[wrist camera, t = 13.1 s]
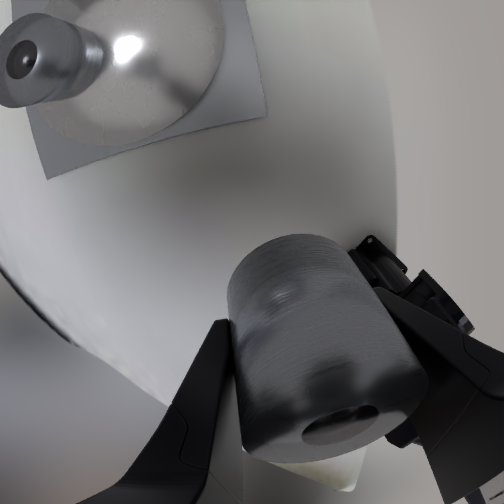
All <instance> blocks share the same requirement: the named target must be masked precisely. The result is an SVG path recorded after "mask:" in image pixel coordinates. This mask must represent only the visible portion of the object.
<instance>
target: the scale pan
mask: <svg viewBox="0 0 504 504" xmlns="http://www.w3.org/2000/svg"><path fill="white" fill-rule="evenodd" d="M42 13H44V14H48V15H51V16H53V17H56V18H59V19H62V20H64V21H67V22H70V23H72V24H75V25H77V26H80V27H82V28H85V29H87V30H90V31H91V32H93V33H94V34H95V35H96V36H97V37H98V39H99V41H100V43H101V46H102V51H103V59H102V64H101V68H100V71H99V73H98V75H97V77H96V79H95V80H94V82H93V83H92V84H91V85H90V86H89V87H88V88H87V89H86V90H85V91H84V92H83V93H81V94H80V95H78V96H76V97H73V98H70V99H65V100H59V101H52V102H46V103H40V104H35V105H34V106H35V108H36V109H37V111H38V113H39V114H40V116H41V117H42V118H43V119H44V120H45V122H46V123H47V124H48V125H49V126H51V127H52V128H53V129H54V130H55V131H57V132H58V133H60V134H61V135H63V136H65V137H67V138H69V139H71V140H73V141H76V142H80V143H83V144H87V145H94V146H116V145H124V144H128V143H132V142H136V141H139V140H141V139H144V138H147V137H149V136H151V135H153V134H155V133H157V132H159V131H161V130H163V129H164V128H166V127H167V126H169V125H170V124H172V123H173V122H175V121H176V120H177V119H179V118H180V117H181V116H182V115H183V114H185V113H186V112H187V111H188V110H189V109H190V108H191V107H192V106H193V105H194V104H195V103H196V102H197V100H198V99H199V98H200V97H201V95H202V94H203V93H204V91H205V90H206V88H207V87H208V85H209V83H210V82H211V80H212V78H213V76H214V74H215V72H216V70H217V67H218V65H219V61H220V58H221V55H222V50H223V44H224V28H225V26H224V18H223V12H222V9H221V6H220V2H219V0H51V1H50V2H49V3H48V5H47V6H46V8H45V9H44V11H43V12H42Z"/></svg>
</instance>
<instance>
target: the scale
mask: <svg viewBox="0 0 504 504" xmlns="http://www.w3.org/2000/svg"><path fill="white" fill-rule="evenodd" d="M50 1H51V0H11V3H12V21H13V22H14V21H16V20H17V19H19V18H21V17H22V16H25V15H27V14H31V13H42V12H43V11H44V9H45V8H46V6H47V5H48V3H49V2H50ZM219 2H220V6H221V9H222V12H223V18H224V26H225V28H224V44H223V50H222V55H221V58H220V61H219V65H218V67H217V70H216V72H215V74H214V76H213V78H212V80H211V82H210V83H209V85H208V87H207V88H206V90H205V91H204V93H203V94H202V95H201V97H200V98H199V99H198V100H197V102H196V103H195V104H194V105H193V106H192V107H191V108H190V109H189V110H188V111H187V112H186V113H185V114H183V115H182V116H181V117H180V118H179V119H177V120H176V121H175V122H173V123H172V124H170V125H169V126H167V127H166V128H164V129H163V130H161V131H159V132H157V133H155V134H153V135H151V136H149V137H147V138H144V139H141V140H139V141H136V142H132V143H128V144H124V145H116V146H94V145H87V144H83V143H80V142H76V141H73V140H71V139H69V138H67V137H65V136H63V135H61V134H60V133H58V132H57V131H55V130H54V129H53V128H52V127H51V126H49V125H48V124H47V123H46V122H45V120H44V119H43V118H42V117H41V116H40V114H39V113H38V111H37V109H36V108H35V106H34V105H29V106H26V110H27V114H28V118H29V122H30V126H31V129H32V133H33V137H34V140H35V144H36V147H37V151H38V154H39V157H40V160H41V163H42V166H43V169H44V172H45V175H46V178H47V180H48V179H51V178H53V177H56V176H58V175H60V174H63V173H65V172H68V171H70V170H73V169H76V168H78V167H81V166H83V165H86V164H89V163H91V162H94V161H97V160H100V159H103V158H105V157H108V156H111V155H114V154H117V153H120V152H123V151H126V150H129V149H133V148H136V147H139V146H142V145H146V144H149V143H152V142H156V141H159V140H163V139H166V138H170V137H174V136H178V135H181V134H185V133H189V132H193V131H197V130H202V129H206V128H210V127H215V126H219V125H224V124H229V123H233V122H238V121H244V120H249V119H254V118H260V117H266V116H268V114H267V109H266V103H265V98H264V93H263V87H262V82H261V77H260V72H259V67H258V62H257V56H256V52H255V47H254V42H253V37H252V32H251V27H250V23H249V18H248V13H247V9H246V4H245V0H219Z"/></svg>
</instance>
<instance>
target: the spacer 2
mask: <svg viewBox="0 0 504 504" xmlns="http://www.w3.org/2000/svg"><path fill="white" fill-rule="evenodd" d="M227 302H228V314H229V325H230V336H231V347H232V357H233V368H234V377H235V387H236V397H237V406H238V415H239V424H240V432H241V441H242V446H243V447H244V449H245V450H246V451H247V452H248V453H249V454H250V455H252V456H253V457H256V458H258V459H261V460H264V461H269V462H274V463H305V462H313V461H319V460H324V459H328V458H332V457H336V456H339V455H342V454H345V453H348V452H351V451H354V450H356V449H359V448H361V447H363V446H365V445H367V444H369V443H371V442H373V441H375V440H377V439H379V438H380V437H382V436H384V435H386V434H387V433H389V432H390V431H392V430H393V429H395V428H396V427H397V426H398V425H400V424H401V423H402V422H403V421H405V420H406V419H407V418H408V417H409V416H410V415H411V414H412V413H413V412H414V411H415V410H416V408H417V407H418V406H419V405H420V403H421V402H422V400H423V399H424V397H425V395H426V393H427V390H428V386H429V379H428V376H427V374H426V372H425V370H424V369H423V367H422V365H421V364H420V362H419V360H418V359H417V357H416V355H415V354H414V352H413V351H412V349H411V347H410V346H409V344H408V342H407V341H406V339H405V338H404V336H403V335H402V333H401V331H400V330H399V328H398V327H397V325H396V324H395V322H394V321H393V319H392V317H391V316H390V314H389V313H388V311H387V310H386V308H385V307H384V305H383V304H382V302H381V301H380V299H379V298H378V296H377V295H376V293H375V292H374V291H373V289H372V288H371V286H370V285H369V283H368V282H367V280H366V279H365V277H364V276H363V275H362V273H361V272H360V270H359V269H358V268H357V266H356V265H355V263H354V262H353V261H352V259H351V258H350V256H349V255H348V254H347V252H346V251H345V250H344V249H343V248H342V247H341V246H340V245H338V244H337V243H335V242H334V241H332V240H330V239H328V238H325V237H322V236H318V235H313V234H292V235H287V236H282V237H279V238H276V239H273V240H271V241H269V242H266V243H264V244H263V245H261V246H259V247H258V248H256V249H255V250H253V251H252V252H251V253H249V254H248V255H247V256H246V257H245V258H244V259H243V260H242V261H241V262H240V264H239V265H238V266H237V268H236V269H235V271H234V273H233V274H232V277H231V279H230V282H229V285H228V290H227Z"/></svg>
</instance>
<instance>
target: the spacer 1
mask: <svg viewBox="0 0 504 504" xmlns="http://www.w3.org/2000/svg"><path fill="white" fill-rule="evenodd" d="M102 59H103V51H102V46H101V43H100V41H99V39H98V37H97V36H96V35H95V34H94V33H93V32H91V31H90V30H87V29H85V28H82V27H80V26H77V25H75V24H72V23H70V22H67V21H64V20H62V19H59V18H56V17H53V16H51V15H48V14H44V13H31V14H27V15H25V16H22V17H21V18H19V19H17V20H16V21H14V22H13V23H12V24H11V25H9V26H8V27H7V28H6V29H5V31H4V32H3V33H2V34H1V36H0V104H1V105H3V106H5V107H8V108H20V107H24V106H29V105H35V104H40V103H46V102H52V101H59V100H65V99H70V98H73V97H76V96H78V95H80V94H81V93H83V92H84V91H85V90H86V89H87V88H88V87H89V86H90V85H91V84H92V83H93V82H94V80H95V79H96V77H97V75H98V73H99V71H100V68H101V64H102Z"/></svg>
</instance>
